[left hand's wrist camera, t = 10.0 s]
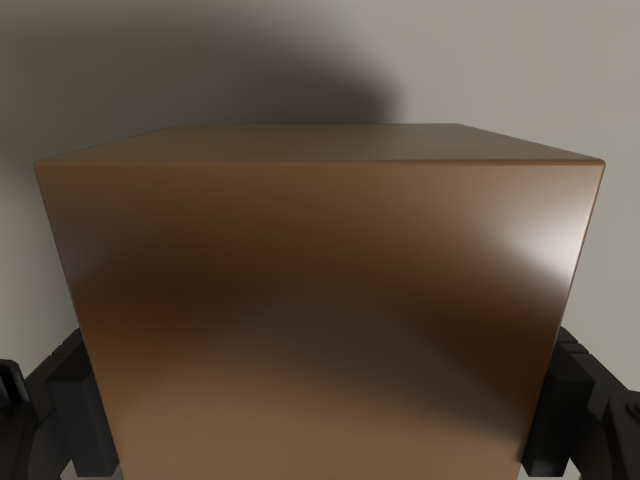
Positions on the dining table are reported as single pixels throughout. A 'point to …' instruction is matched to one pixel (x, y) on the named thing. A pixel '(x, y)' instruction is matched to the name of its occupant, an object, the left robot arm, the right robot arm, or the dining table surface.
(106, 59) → the dining table surface
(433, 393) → the thick board
